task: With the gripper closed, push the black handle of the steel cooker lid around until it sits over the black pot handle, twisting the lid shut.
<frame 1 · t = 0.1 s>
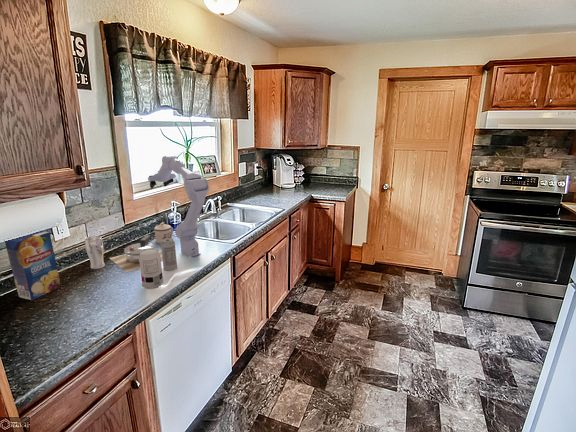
hand: (157, 186, 182), 32 cm above the worktop, tool tilted 50°, fingers open, 7 cm apart
cooker lid: (141, 244, 165), point 7 cm above the worktop, hinge at -35.0°
teacup with lid: (166, 241, 189), on the worktop
cooker pot: (140, 258, 164), resting on trivet board
juice carton: (40, 291, 134), on the worktop
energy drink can: (170, 270, 154), on the worktop
trivet board: (141, 260, 164), on the worktop
supplement can: (153, 285, 140), on the worktop
beer glass: (98, 268, 155), on the worktop
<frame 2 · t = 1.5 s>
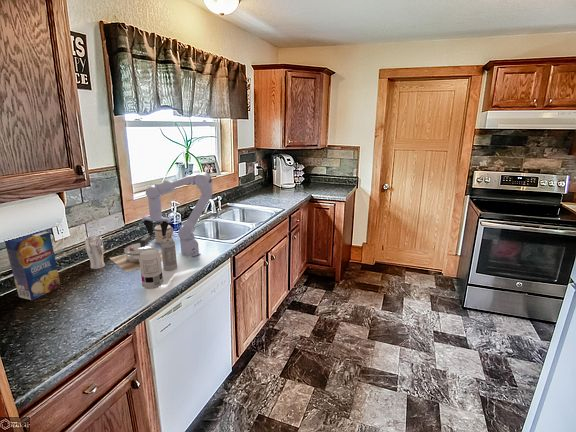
hand: (157, 235, 169), 10 cm above the worktop, tool pointing down, fingers open, 6 cm apart
nothing on the worktop moved.
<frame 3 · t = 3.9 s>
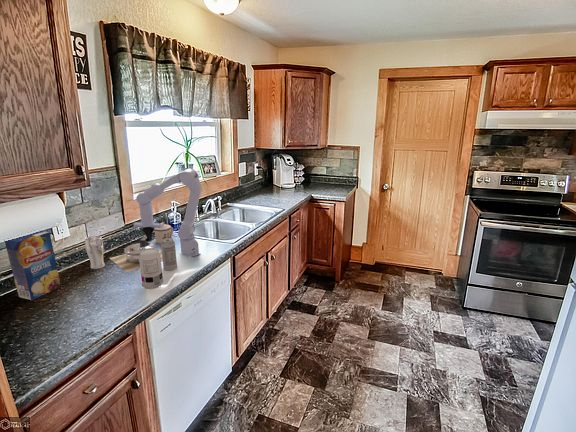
hand: (149, 240, 171), 7 cm above the worktop, tool pointing down, fingers closed, pressing on cooker lid
cooker lid: (141, 244, 165), point 7 cm above the worktop, hinge at -33.5°, touching gripper
everything else where it was.
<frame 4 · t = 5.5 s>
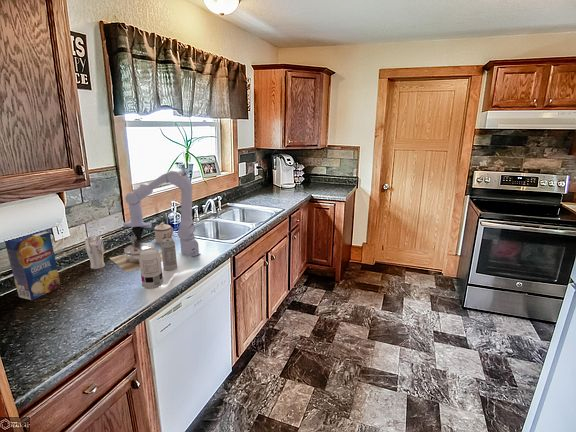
hand: (139, 240, 171), 7 cm above the worktop, tool pointing down, fingers closed
cooker lid: (137, 244, 164), point 7 cm above the worktop, hinge at 2.5°, touching gripper
everything else where it was.
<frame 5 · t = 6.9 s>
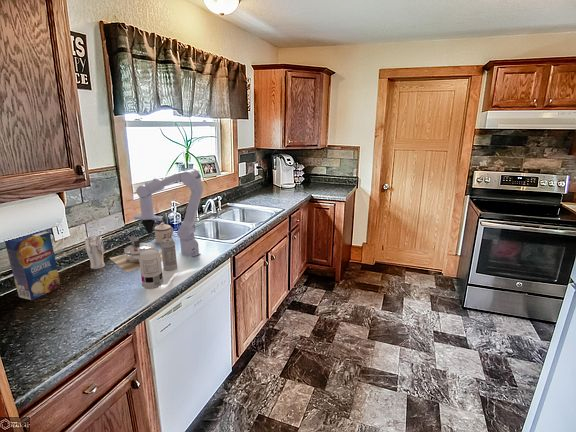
hand: (149, 233, 171), 10 cm above the worktop, tool pointing down, fingers closed
cooker lid: (137, 244, 164), point 7 cm above the worktop, hinge at 2.7°
everything else where it was.
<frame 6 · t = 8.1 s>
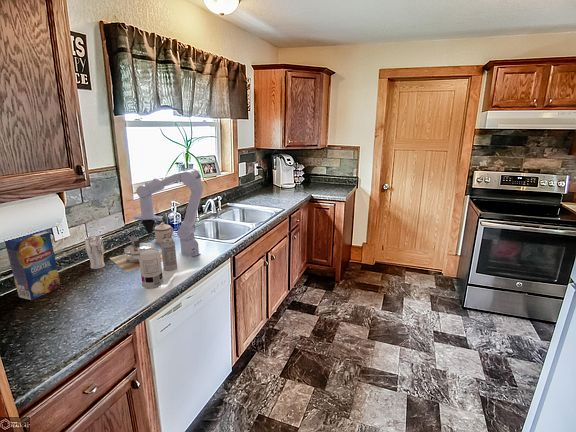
hand: (149, 233, 171), 10 cm above the worktop, tool pointing down, fingers closed
nothing on the worktop moved.
at the end: cooker lid at +3° (first picture: -35°) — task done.
